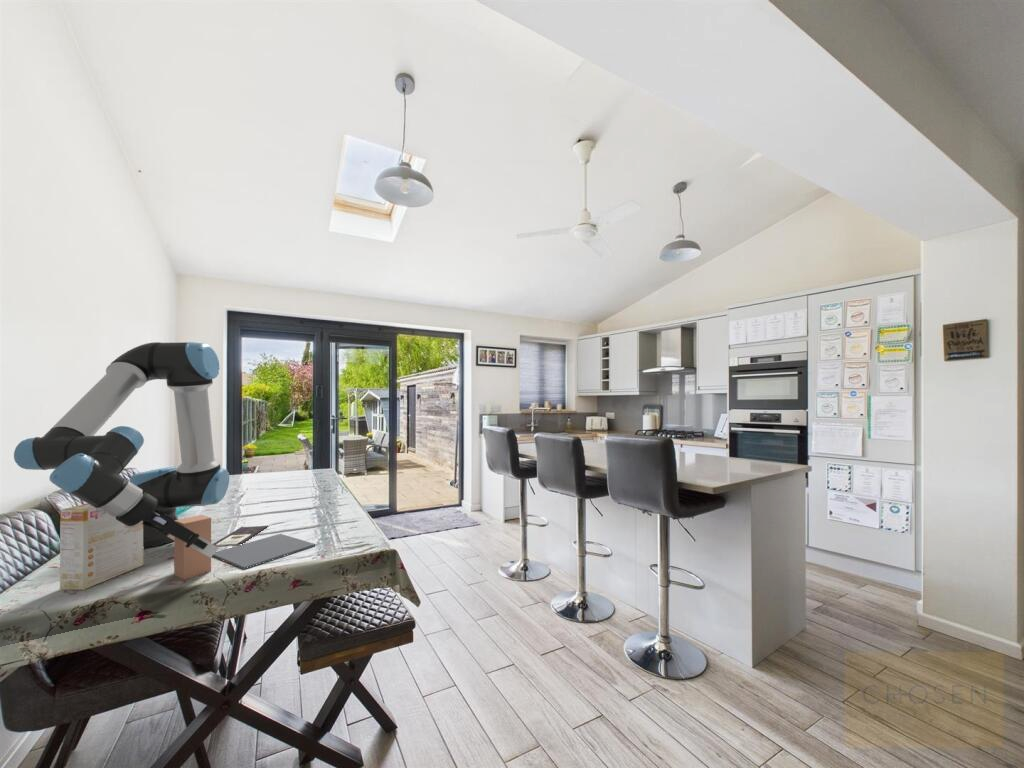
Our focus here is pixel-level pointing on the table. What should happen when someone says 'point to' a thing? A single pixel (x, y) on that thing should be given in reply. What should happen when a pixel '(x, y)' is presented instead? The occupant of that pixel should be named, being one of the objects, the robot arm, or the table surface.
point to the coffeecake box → (96, 547)
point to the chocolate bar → (240, 536)
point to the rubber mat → (262, 550)
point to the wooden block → (190, 559)
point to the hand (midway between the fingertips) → (202, 548)
